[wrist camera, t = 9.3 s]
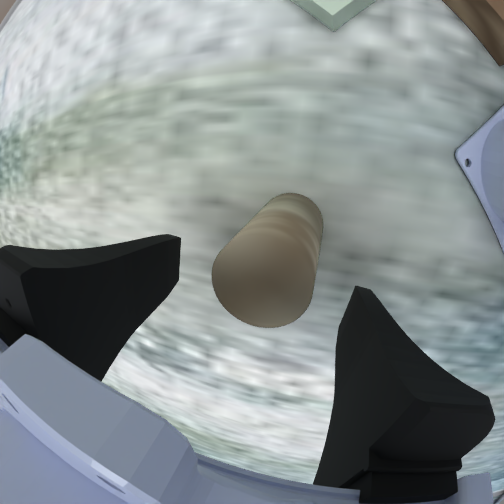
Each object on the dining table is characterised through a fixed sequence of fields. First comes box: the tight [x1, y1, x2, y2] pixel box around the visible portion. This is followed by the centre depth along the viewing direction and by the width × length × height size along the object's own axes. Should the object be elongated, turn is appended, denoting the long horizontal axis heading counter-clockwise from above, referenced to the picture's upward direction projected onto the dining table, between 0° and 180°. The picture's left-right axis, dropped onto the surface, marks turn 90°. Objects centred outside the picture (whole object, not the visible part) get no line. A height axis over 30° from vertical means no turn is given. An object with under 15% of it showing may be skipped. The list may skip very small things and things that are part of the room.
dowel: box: [212, 193, 323, 328], centre depth 14 cm, size 4×4×8 cm
